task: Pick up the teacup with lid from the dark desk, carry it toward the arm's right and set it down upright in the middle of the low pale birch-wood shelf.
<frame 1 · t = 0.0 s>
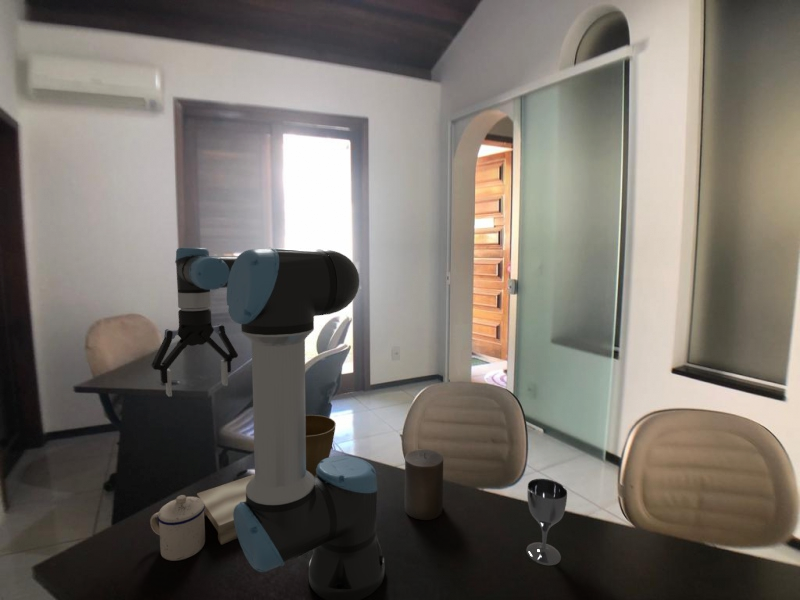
hand: (198, 389, 112), 28 cm above the table, tool pointing down, fingers open, 13 cm apart
plant pot: (309, 479, 122), on the table
wine glass: (543, 554, 93), on the table
pillar candle: (423, 509, 109), on the table
teacup with lid: (177, 547, 94), on the table
birch shelf: (246, 513, 105), on the table
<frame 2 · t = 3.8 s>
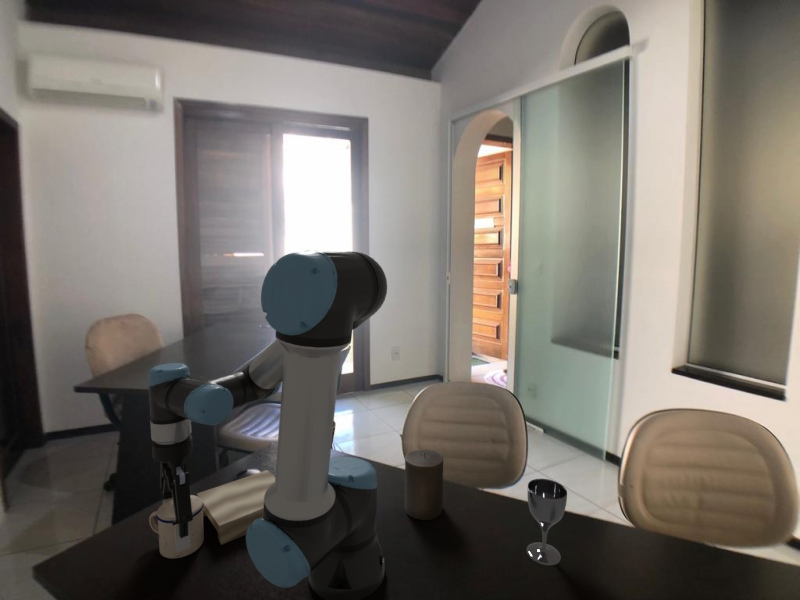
hand: (177, 537, 93), 2 cm above the table, tool pointing down, fingers closed on teacup with lid, 9 cm apart
teacup with lid: (176, 545, 94), on the table, touching gripper
everything else where it was.
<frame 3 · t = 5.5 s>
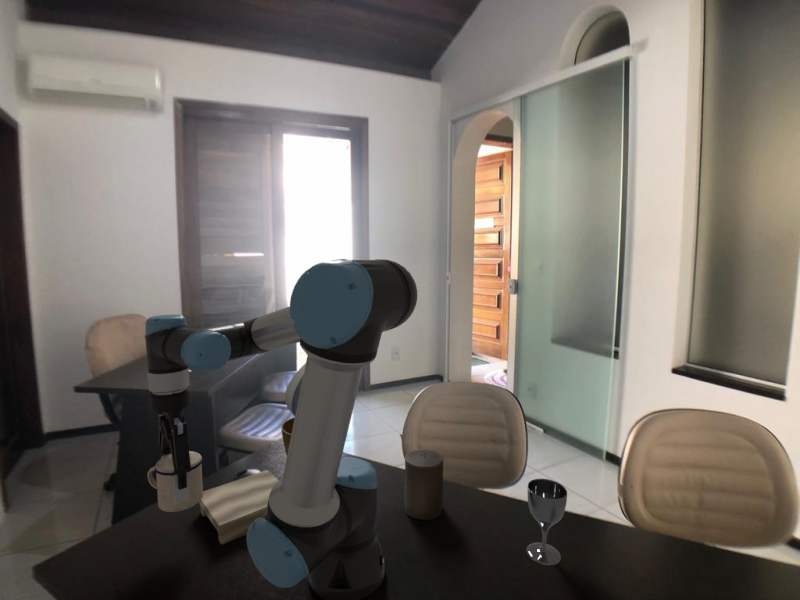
hand: (175, 491, 92), 13 cm above the table, tool pointing down, fingers closed on teacup with lid, 9 cm apart
teacup with lid: (175, 501, 93), point 10 cm above the table, touching gripper
everything else where it was.
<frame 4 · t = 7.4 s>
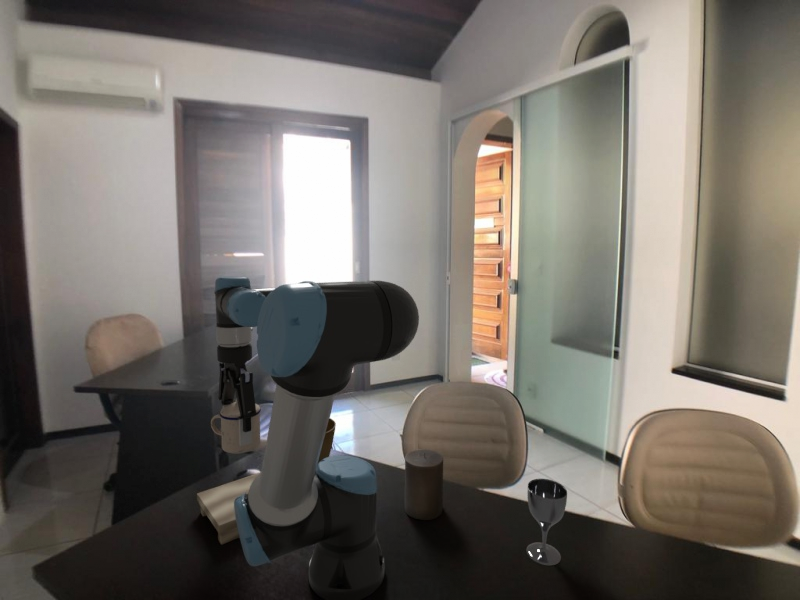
hand: (237, 437, 102), 20 cm above the table, tool pointing down, fingers closed on teacup with lid, 9 cm apart
teacup with lid: (235, 446, 103), point 18 cm above the table, touching gripper
everything else where it was.
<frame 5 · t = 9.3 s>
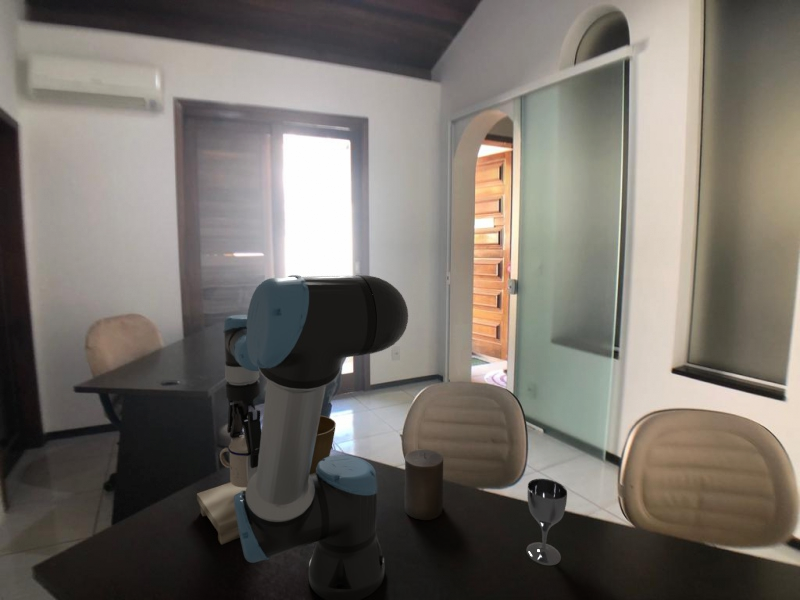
hand: (245, 470, 104), 11 cm above the table, tool pointing down, fingers closed on teacup with lid, 9 cm apart
teacup with lid: (243, 478, 105), point 9 cm above the table, touching gripper
everything else where it was.
when the fingers open (8 cm above the table, at t = 10.8 s): teacup with lid stays where it is, resting on birch shelf.
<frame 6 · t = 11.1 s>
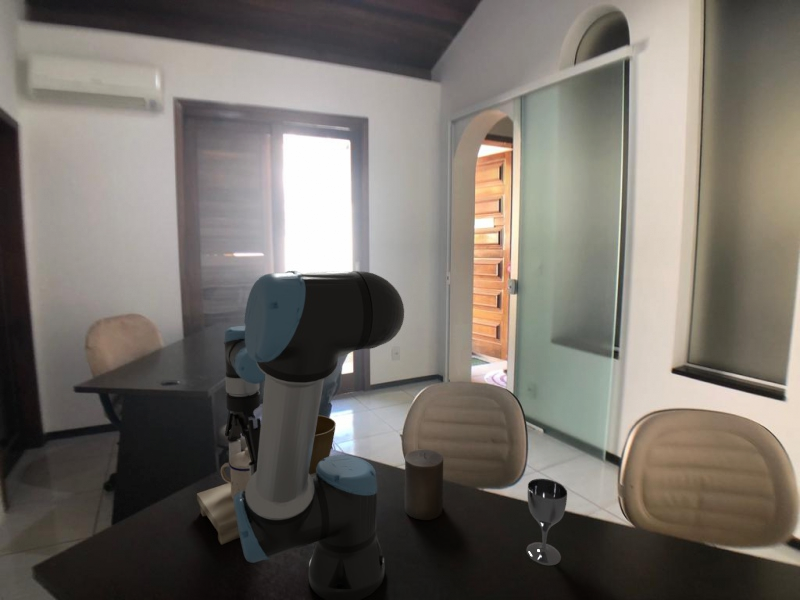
hand: (245, 476, 104), 10 cm above the table, tool pointing down, fingers open, 13 cm apart
teacup with lid: (244, 493, 106), point 5 cm above the table, touching birch shelf
everything else where it was.
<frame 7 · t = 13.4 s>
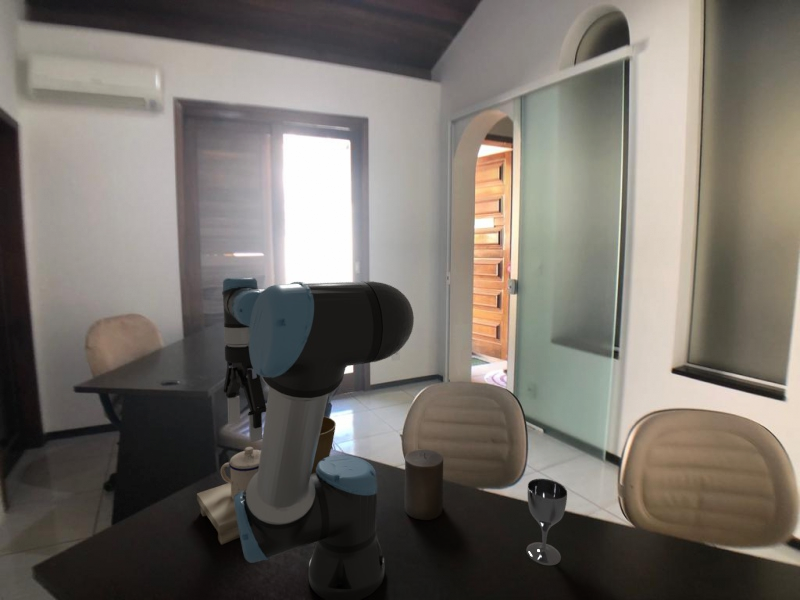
hand: (244, 431, 103), 21 cm above the table, tool pointing down, fingers open, 13 cm apart
nothing on the table moved.
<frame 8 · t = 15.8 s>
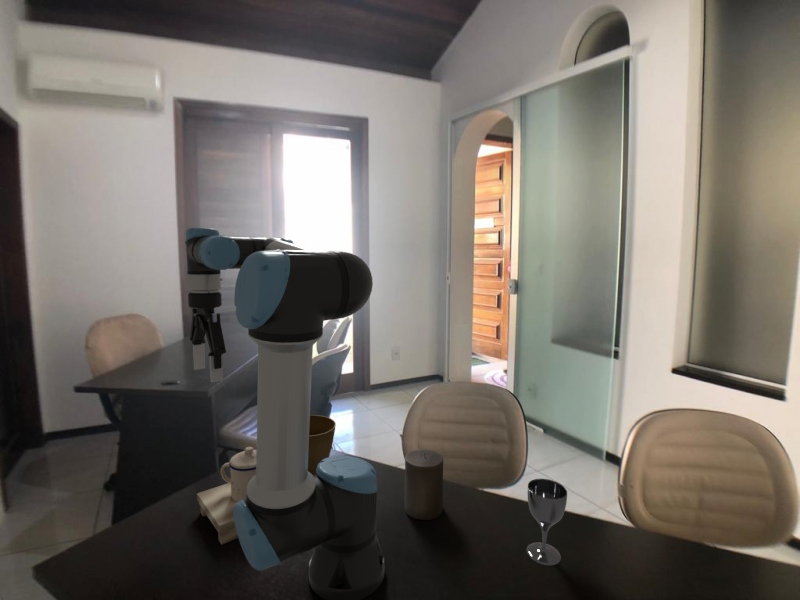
hand: (207, 374, 109), 33 cm above the table, tool pointing down, fingers open, 13 cm apart
nothing on the table moved.
at the end: teacup with lid inside the target area on the birch shelf (0.9 cm from its centre), point 4.8 cm above the birch shelf's base; teacup with lid tilted 0°; the gripper is holding nothing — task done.
